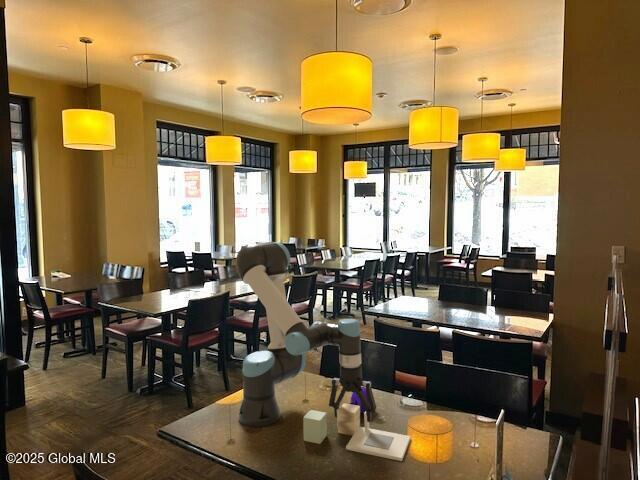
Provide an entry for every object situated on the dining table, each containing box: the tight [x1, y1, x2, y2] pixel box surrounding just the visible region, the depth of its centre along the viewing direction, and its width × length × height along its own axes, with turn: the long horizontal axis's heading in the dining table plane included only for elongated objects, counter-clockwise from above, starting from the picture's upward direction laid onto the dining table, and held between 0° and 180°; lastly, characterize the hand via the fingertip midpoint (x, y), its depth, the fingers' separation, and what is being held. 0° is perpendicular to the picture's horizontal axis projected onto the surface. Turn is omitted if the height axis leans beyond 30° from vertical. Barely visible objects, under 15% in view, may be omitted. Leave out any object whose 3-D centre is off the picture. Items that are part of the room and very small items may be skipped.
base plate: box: [345, 426, 412, 462], centre depth 145 cm, size 18×14×1 cm
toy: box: [349, 386, 370, 416], centre depth 167 cm, size 9×10×15 cm
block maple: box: [337, 402, 361, 437], centre depth 153 cm, size 6×6×8 cm
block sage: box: [302, 409, 328, 445], centre depth 149 cm, size 6×6×8 cm
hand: (353, 428), depth 153 cm, fingers open, 9 cm apart
